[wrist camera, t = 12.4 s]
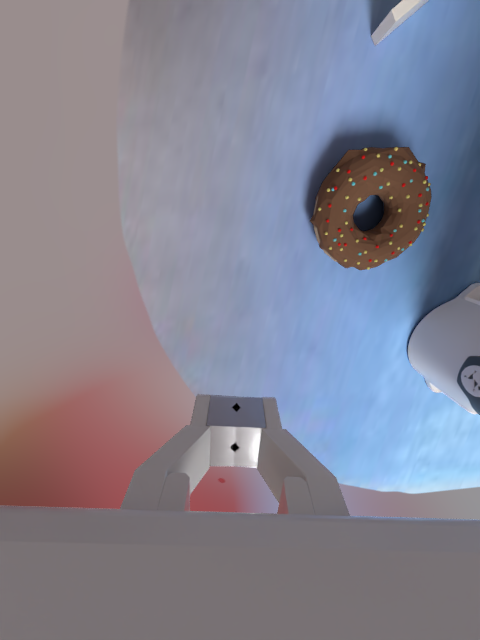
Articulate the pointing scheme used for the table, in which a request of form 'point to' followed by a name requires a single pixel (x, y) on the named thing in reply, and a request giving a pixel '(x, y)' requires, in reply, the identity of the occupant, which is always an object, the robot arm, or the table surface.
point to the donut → (353, 188)
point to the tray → (396, 18)
